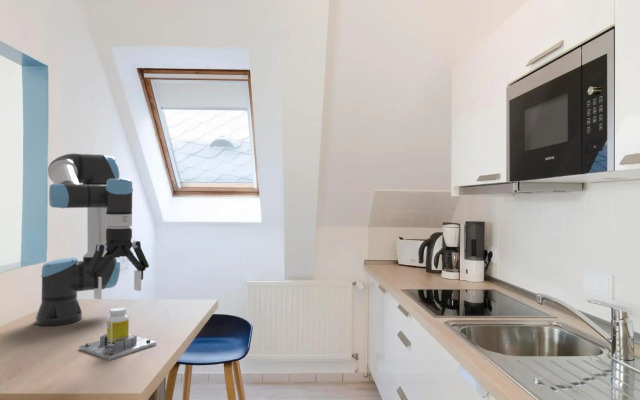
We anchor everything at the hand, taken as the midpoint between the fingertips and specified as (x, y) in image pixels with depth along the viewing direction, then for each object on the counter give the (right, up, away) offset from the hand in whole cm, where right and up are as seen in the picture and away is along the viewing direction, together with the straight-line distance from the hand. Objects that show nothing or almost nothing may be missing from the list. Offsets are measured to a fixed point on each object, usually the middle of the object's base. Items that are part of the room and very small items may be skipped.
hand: (118, 294), depth 137 cm
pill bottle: (0, -16, 0) cm, 16 cm away
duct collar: (0, -17, 0) cm, 17 cm away
